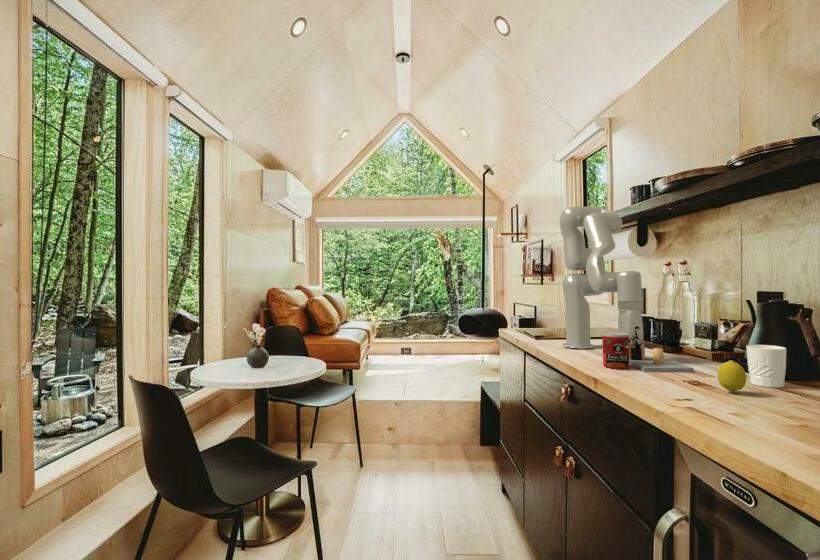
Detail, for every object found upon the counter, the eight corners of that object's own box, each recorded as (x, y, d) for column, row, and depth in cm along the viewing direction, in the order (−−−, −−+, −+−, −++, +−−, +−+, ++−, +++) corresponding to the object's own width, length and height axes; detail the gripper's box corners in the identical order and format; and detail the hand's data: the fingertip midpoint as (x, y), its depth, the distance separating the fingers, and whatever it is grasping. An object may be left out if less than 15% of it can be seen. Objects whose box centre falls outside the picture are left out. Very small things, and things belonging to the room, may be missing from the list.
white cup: (794, 386, 102) (793, 347, 102) (776, 390, 99) (775, 350, 100) (758, 380, 110) (757, 343, 110) (740, 383, 107) (739, 345, 107)
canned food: (605, 369, 126) (604, 334, 126) (601, 364, 134) (600, 331, 134) (632, 370, 124) (631, 335, 124) (626, 365, 131) (625, 332, 132)
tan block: (619, 359, 141) (619, 341, 141) (637, 360, 140) (637, 341, 140) (626, 363, 135) (625, 344, 135) (645, 363, 134) (644, 344, 134)
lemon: (752, 396, 94) (751, 362, 94) (725, 395, 95) (724, 362, 95) (738, 390, 99) (737, 358, 100) (713, 389, 101) (712, 358, 101)
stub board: (626, 363, 135) (626, 345, 135) (671, 363, 133) (670, 345, 133) (644, 371, 122) (644, 352, 122) (693, 372, 120) (693, 352, 120)
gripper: (609, 306, 148) (611, 354, 147) (628, 307, 130) (631, 362, 130) (631, 305, 147) (633, 354, 146) (653, 307, 129) (655, 362, 129)
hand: (632, 357), depth 138 cm, fingers closed on tan block, 6 cm apart
